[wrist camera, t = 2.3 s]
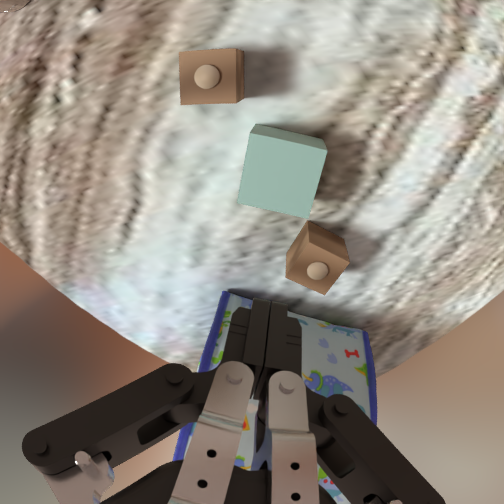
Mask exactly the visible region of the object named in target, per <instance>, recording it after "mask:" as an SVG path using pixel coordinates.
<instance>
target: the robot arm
mask: <svg viewBox="0 0 504 504" xmlns="http://www.w3.org/2000/svg"><path fill="white" fill-rule="evenodd" d="M29 1H30V0H0V13H3V12H15V11H17V10H20V9H21V8H22V7H24V6H25V5H26V4H27V3H28V2H29ZM253 393H254V394H253ZM252 395H253V399H254V400H259V403H258V410H257V412H256V415H255V428H254V452H253V460H252V464H251V470H250V471H249V470H245V469H243V468H240V467H238V466H236V465H234V462H235V459H236V455H237V451H238V447H239V443H240V439H241V435H242V431H243V423H244V419H245V415H246V411H247V407H248V403H249V399H251V398H252ZM194 422H197V424H196V427H195V430H194V432H193V435H192V438H191V441H190V444H189V447H188V450H187V452H186V455H185V458H184V459H182V460H176V461H172V462H169V463H166V464H164V465H161V466H159V467H158V468H156V469H155V470H153V471H152V472H150V473H149V474H147V475H146V476H144V477H142V478H141V479H139V480H138V481H136V482H134V483H133V484H131V485H130V486H128V487H126V488H125V489H123V490H121V491H120V492H118V493H116V494H115V495H113V496H111V497H109V498H108V499H106V500H104V501H102V502H101V503H100V499H101V496H102V494H103V493H104V492H105V491H106V490H107V489H108V488H110V487H111V486H112V484H113V482H114V472H113V469H112V468H114V467H116V466H118V465H120V464H121V463H123V462H125V461H127V460H128V459H130V458H132V457H134V456H136V455H138V454H139V453H141V452H143V451H144V450H146V449H148V448H150V447H151V446H153V445H155V444H156V443H158V442H160V441H161V440H163V439H165V438H166V437H168V436H170V435H171V434H173V433H174V432H176V431H178V430H179V429H181V428H183V427H184V426H186V425H187V424H188V423H194ZM22 451H23V454H24V456H25V457H26V459H27V460H28V461H29V462H30V463H31V464H33V465H34V467H35V468H36V469H37V470H38V471H39V472H40V473H41V474H43V475H44V477H45V479H46V480H47V482H48V484H49V486H50V488H51V489H52V491H53V493H54V494H55V496H56V498H57V499H58V501H59V502H60V504H337V503H336V502H335V500H334V499H333V498H332V497H331V495H330V494H329V493H328V492H327V491H326V490H325V489H324V488H323V487H322V486H321V485H319V484H318V469H317V464H318V465H319V466H320V467H321V469H322V470H323V471H324V472H325V473H326V475H327V476H328V477H329V478H330V479H331V481H332V482H333V483H334V484H335V485H336V487H337V488H338V489H339V490H340V491H341V493H342V494H343V495H344V496H345V497H346V498H347V500H348V501H349V502H350V503H351V504H446V503H445V501H444V499H443V498H442V497H441V495H439V493H438V492H437V491H436V490H435V489H434V488H433V487H432V486H431V485H430V484H429V483H428V482H427V481H426V479H425V478H424V477H423V476H422V475H421V474H420V473H419V472H418V471H417V470H416V469H415V468H414V467H413V466H412V464H411V463H410V462H409V461H408V460H407V459H406V458H405V457H404V456H403V455H402V454H401V453H400V452H399V450H398V449H397V448H396V447H395V446H394V445H393V444H392V443H391V442H390V441H389V439H388V438H387V437H386V436H385V435H384V434H383V433H382V432H381V431H380V430H379V428H378V427H377V426H376V425H375V424H374V423H373V422H372V421H371V420H370V418H369V417H368V416H367V415H366V414H365V413H364V412H363V411H362V410H361V408H360V407H359V406H358V405H357V404H356V403H355V402H354V401H353V400H352V399H351V398H350V397H348V396H346V395H343V394H333V395H331V396H329V397H328V398H327V397H325V396H322V395H320V394H318V393H316V392H314V391H312V390H311V389H309V388H308V387H307V386H306V385H305V383H304V381H303V379H302V327H301V325H300V323H299V321H298V319H297V318H293V317H288V304H284V303H279V302H274V301H271V302H270V301H269V300H264V299H259V298H254V297H253V301H252V305H251V309H248V308H243V307H238V308H237V309H236V310H235V311H234V313H233V314H232V317H231V321H230V326H229V330H228V334H227V338H226V343H225V347H224V351H223V355H222V359H221V362H220V364H219V365H218V366H217V367H216V368H214V369H213V370H210V371H207V372H194V373H192V372H191V370H190V369H189V368H187V367H186V366H184V365H181V364H177V363H171V364H166V365H164V366H162V367H160V368H158V369H156V370H154V371H153V372H151V373H149V374H147V375H145V376H143V377H141V378H139V379H137V380H135V381H133V382H131V383H130V384H128V385H126V386H124V387H122V388H120V389H118V390H116V391H114V392H112V393H110V394H108V395H106V396H104V397H102V398H100V399H98V400H96V401H94V402H91V403H89V404H88V405H86V406H83V407H81V408H79V409H77V410H75V411H73V412H71V413H69V414H66V415H64V416H62V417H60V418H58V419H56V420H54V421H51V422H49V423H47V424H45V425H43V426H40V427H38V428H36V429H34V430H32V431H30V432H29V433H27V434H26V435H25V437H24V439H23V442H22Z"/></svg>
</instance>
